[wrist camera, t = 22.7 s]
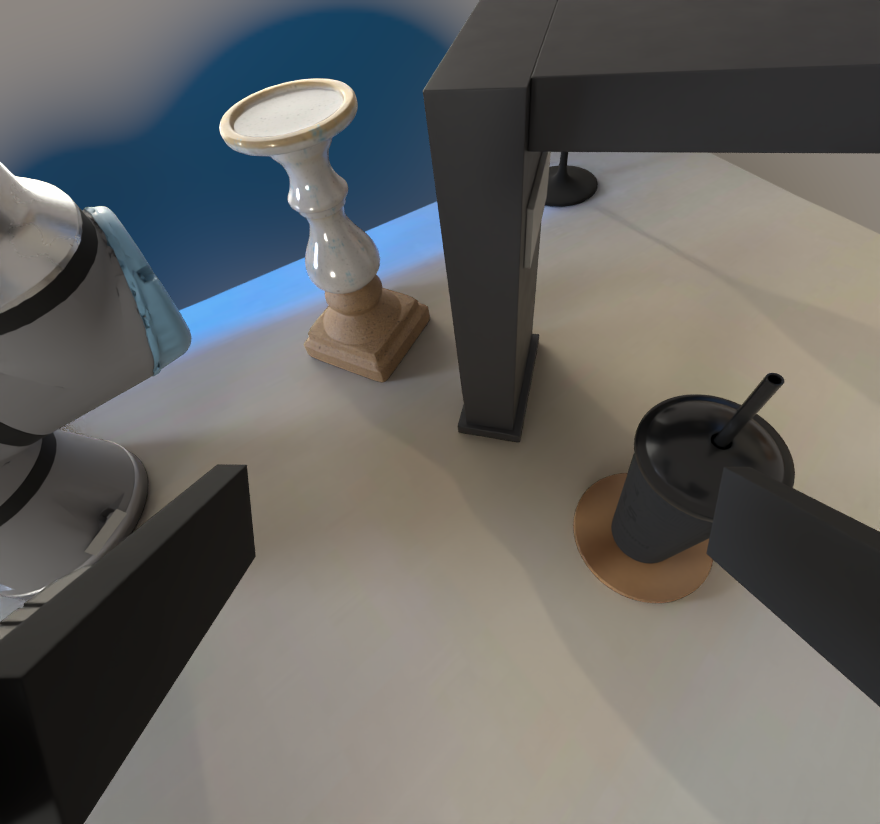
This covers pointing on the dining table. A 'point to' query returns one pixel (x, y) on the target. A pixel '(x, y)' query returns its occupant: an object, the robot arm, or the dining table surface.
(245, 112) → the candle holder
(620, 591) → the coaster
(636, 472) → the drinking cup
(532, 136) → the coffee maker
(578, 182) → the wine glass
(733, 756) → the dining table surface
